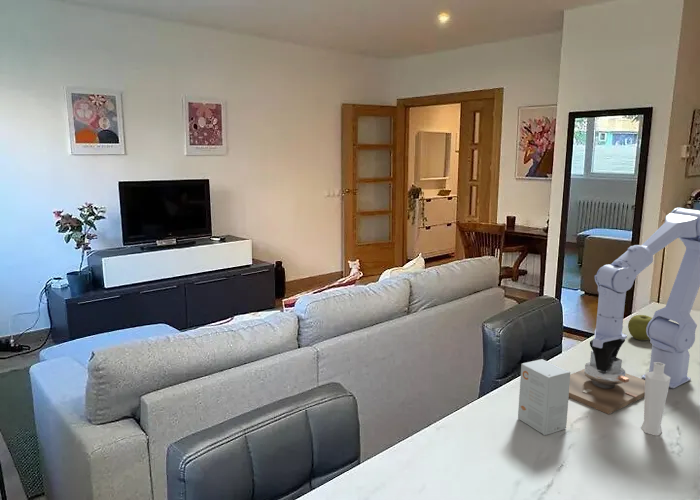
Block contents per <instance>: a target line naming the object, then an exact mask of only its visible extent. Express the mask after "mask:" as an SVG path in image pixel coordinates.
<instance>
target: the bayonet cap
mask: <svg viewBox="0 0 700 500" xmlns="http://www.w3.org/2000/svg"><path fill="white" fill-rule="evenodd" d="M622 363H623V360H622V359H621V358H618V357H614V356H612V355H611V358H610V362H609V366H608V369H607V371H606V372H604V371H600V370H597V367H596V362H595V356H594V353H593V350H591V351H590V361H589V362H587V363H585V364H584V369H585V371H584V374H585V376H586V377H587V378H589V379H591V380H593V381H596V382H599V383H603V384H621V383H623V382H624V383H626V382H629V378H626V377H625V373H626V370H625V369H624V368H623V367H622V365H623V364H622Z"/></svg>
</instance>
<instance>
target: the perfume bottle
mask: <svg viewBox="0 0 700 500" xmlns="http://www.w3.org/2000/svg"><path fill="white" fill-rule="evenodd" d="M664 366H665V364H663V363H660V362H654V369H653V371H652V372H649V371H648V372H645V373H644V374H645V379H644V380H645V397H644V400H643V401H644V403H643V404H644V405H643V406H644V407H643V409H644V410H643V411H644V413H643V422H642V424H641V425H640V428H641V430H642V431H643V433H645V434H649V435H653V436H660V435H661V434H662V432H663V428H662V421H663V416H664V411H665V406H666V401H667V397H668V392H669V388H670V387H669V383H670V379H671V377H669V376H667V375H666V374H664Z"/></svg>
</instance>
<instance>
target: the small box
mask: <svg viewBox="0 0 700 500" xmlns="http://www.w3.org/2000/svg"><path fill="white" fill-rule="evenodd" d="M520 365H521V366H520V378H519V379H520V380H519V395H518V396H519V397H518V411H517V419H518V420H520V421H521V422H523V423H525V424H526V425H528V426H529V427H531V428H532V429H534V430H536V431H538V432H539V433H540V434H542V435H544V436H547V435H550V434H554V433H556V432H560V431H562V430H566V429H567V421H568V420H567V419H568V410H569V408H568V407H569V398H570V397H569V384H570V375H571V371H568V370H566V368H562V367H560V366H557V365H556V364H554V363H550V361H548V360H545V359H543V358H541V359H536V360H532V361H527V362H523V363H521V364H520Z"/></svg>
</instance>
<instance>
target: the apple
mask: <svg viewBox="0 0 700 500" xmlns="http://www.w3.org/2000/svg"><path fill="white" fill-rule="evenodd" d="M652 318H653V317H652V316H649V315H645V314H636V315H634V316H632V317H631V318H630V319H629V321H628V323H627V329H628V332H629V334H630V336H631V337H632V338H633V339H635V340H638V341H648V340H650V338H649V337H648V336H647V333H646V328H647V325H648V323H649V321H650V320H651V319H652Z"/></svg>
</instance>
